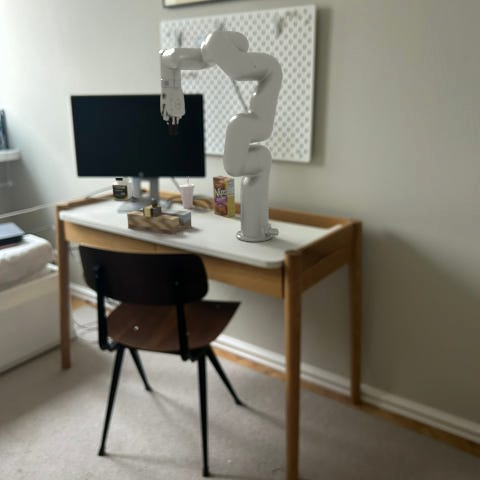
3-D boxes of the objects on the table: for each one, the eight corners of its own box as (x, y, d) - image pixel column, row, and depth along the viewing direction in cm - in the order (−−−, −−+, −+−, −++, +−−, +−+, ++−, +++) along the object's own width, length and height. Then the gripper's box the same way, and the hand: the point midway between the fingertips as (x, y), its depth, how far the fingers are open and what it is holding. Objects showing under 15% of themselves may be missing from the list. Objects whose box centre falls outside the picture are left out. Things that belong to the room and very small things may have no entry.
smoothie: (192, 209, 217) (191, 176, 212) (178, 209, 218) (176, 176, 214) (197, 206, 223) (195, 173, 218) (182, 205, 224) (181, 173, 220)
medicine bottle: (113, 199, 236) (111, 173, 233) (119, 196, 243) (117, 170, 239) (128, 200, 235) (126, 173, 231) (133, 196, 242) (131, 171, 238)
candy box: (213, 213, 210) (212, 176, 205) (221, 212, 213) (220, 175, 208) (227, 217, 204) (226, 179, 199) (235, 216, 206) (235, 178, 202)
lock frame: (191, 226, 192) (190, 203, 190) (173, 234, 182) (172, 211, 180) (147, 220, 201) (146, 198, 199) (128, 227, 191) (126, 205, 188)
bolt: (160, 213, 189) (159, 198, 187) (150, 216, 184) (149, 202, 182) (154, 212, 190) (153, 198, 188) (144, 216, 185) (143, 201, 183)
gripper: (168, 85, 184) (170, 137, 189) (190, 84, 196) (192, 133, 202) (150, 85, 187) (153, 136, 192) (174, 84, 200) (176, 132, 205)
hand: (173, 134), depth 197 cm, fingers closed
